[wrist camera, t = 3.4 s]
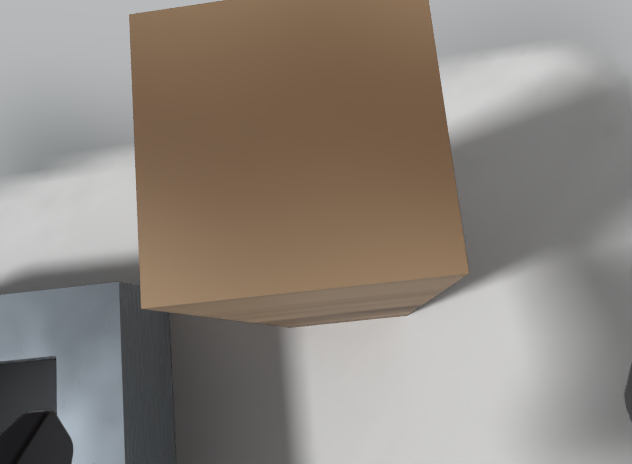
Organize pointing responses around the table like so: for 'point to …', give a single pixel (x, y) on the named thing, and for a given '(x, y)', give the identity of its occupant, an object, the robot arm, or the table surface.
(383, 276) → the walnut peg
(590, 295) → the table surface
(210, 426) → the table surface
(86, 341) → the square collar
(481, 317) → the table surface
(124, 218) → the table surface
